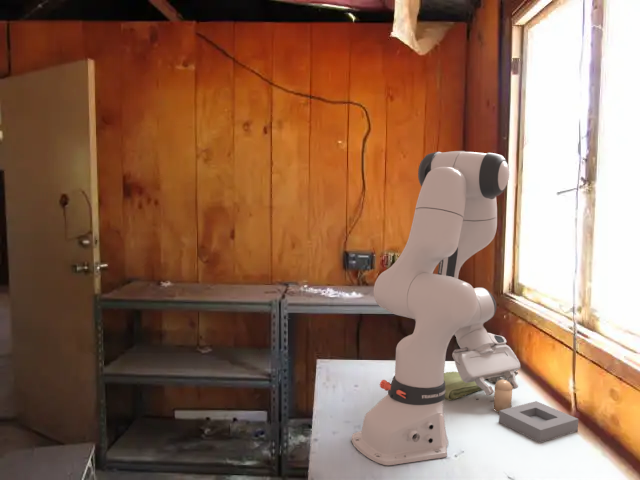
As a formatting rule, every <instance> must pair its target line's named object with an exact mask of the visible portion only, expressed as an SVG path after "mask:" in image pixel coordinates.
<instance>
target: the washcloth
mask: <svg viewBox="0 0 640 480" xmlns="http://www.w3.org/2000/svg"><path fill="white" fill-rule="evenodd" d="M444 381H445V391H446V392H445V398H444V400H445V399H446V400H450V401H452V400H457V399H460V398H462V397H465V395H466V396H468V395H470V394H473V393H475V392H478V391H482V389H481V388H480V387H479V386H478V385H477V384H476V383H475V381H473V382H469V383H465V382H464V381H463V380H462V379H461V377H460V375H459V372H458V371H446V372H444Z"/></svg>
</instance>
